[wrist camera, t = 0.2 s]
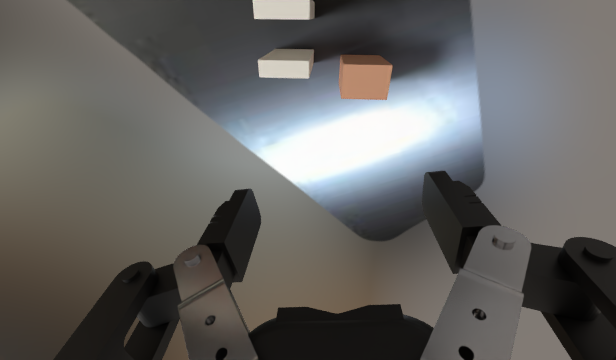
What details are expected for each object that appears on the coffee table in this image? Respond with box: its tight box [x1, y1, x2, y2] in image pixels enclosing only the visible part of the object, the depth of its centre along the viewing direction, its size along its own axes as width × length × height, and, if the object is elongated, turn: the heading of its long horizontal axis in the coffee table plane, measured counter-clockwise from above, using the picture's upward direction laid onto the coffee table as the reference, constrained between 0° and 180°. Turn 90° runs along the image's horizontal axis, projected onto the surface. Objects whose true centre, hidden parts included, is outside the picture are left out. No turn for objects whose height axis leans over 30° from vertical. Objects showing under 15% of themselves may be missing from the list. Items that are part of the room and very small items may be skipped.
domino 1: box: [253, 0, 315, 19], centre depth 27 cm, size 2×5×10 cm, turn 89°
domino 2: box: [258, 49, 314, 78], centre depth 30 cm, size 2×5×10 cm, turn 90°
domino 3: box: [339, 55, 393, 100], centre depth 31 cm, size 4×5×8 cm
